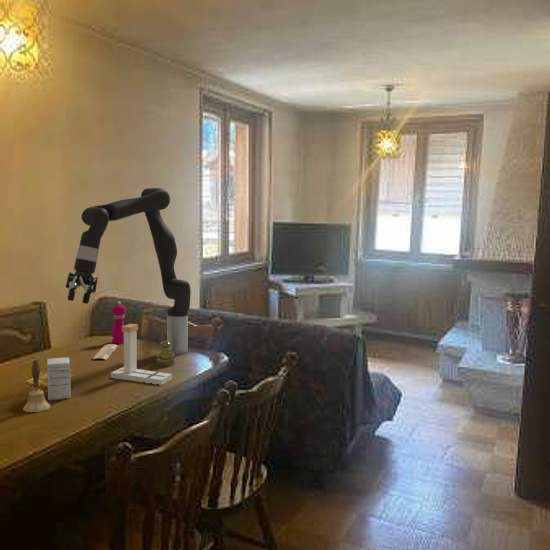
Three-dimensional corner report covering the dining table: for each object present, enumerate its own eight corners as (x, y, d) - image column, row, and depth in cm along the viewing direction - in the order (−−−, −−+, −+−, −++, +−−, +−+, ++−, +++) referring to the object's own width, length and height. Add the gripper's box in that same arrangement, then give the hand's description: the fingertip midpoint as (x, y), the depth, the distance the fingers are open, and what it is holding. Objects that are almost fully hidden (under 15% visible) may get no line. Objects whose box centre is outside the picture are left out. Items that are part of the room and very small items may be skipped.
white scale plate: (122, 372, 222) (122, 366, 222) (172, 379, 215) (172, 373, 215) (111, 377, 214) (110, 372, 214) (161, 385, 208) (161, 379, 207)
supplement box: (47, 393, 195) (47, 358, 194) (70, 391, 198) (69, 356, 196) (47, 400, 189) (46, 364, 187) (70, 398, 191) (70, 362, 190)
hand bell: (18, 407, 181) (17, 360, 179) (44, 401, 187) (43, 355, 185) (28, 415, 175) (27, 365, 173) (54, 408, 181) (53, 361, 179)
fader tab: (130, 368, 219) (130, 323, 217) (138, 369, 218) (138, 324, 216) (122, 372, 214) (122, 326, 212) (130, 373, 213) (130, 327, 211)
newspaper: (104, 347, 260) (104, 343, 260) (120, 347, 261) (120, 344, 261) (91, 361, 237) (91, 357, 237) (108, 362, 238) (108, 358, 237)
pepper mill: (129, 341, 271) (129, 300, 268) (123, 344, 264) (123, 303, 261) (114, 340, 272) (114, 299, 269) (108, 343, 264) (108, 302, 262)
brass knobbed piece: (176, 362, 238) (177, 339, 237) (172, 367, 231) (172, 343, 230) (160, 361, 239) (160, 338, 238) (154, 366, 232) (154, 342, 230)
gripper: (107, 262, 209) (98, 305, 207) (82, 259, 216) (73, 300, 215) (90, 259, 202) (81, 303, 201) (66, 255, 210) (57, 298, 209)
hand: (77, 301), depth 208 cm, fingers open, 8 cm apart
